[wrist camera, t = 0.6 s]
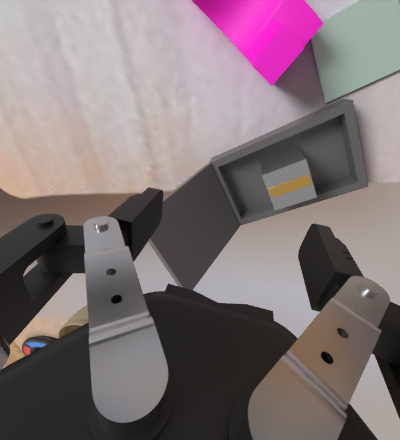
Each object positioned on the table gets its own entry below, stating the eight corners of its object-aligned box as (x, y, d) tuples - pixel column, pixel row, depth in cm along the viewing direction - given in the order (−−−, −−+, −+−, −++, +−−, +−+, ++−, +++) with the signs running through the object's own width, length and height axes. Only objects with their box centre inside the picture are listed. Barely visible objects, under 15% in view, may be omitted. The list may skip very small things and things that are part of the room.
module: (295, 145, 31) (306, 159, 25) (305, 177, 33) (317, 198, 27) (260, 159, 33) (261, 176, 27) (271, 189, 34) (275, 211, 28)
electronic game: (98, 360, 78) (90, 375, 73) (72, 375, 89) (64, 389, 85) (40, 323, 72) (28, 337, 68) (21, 344, 84) (9, 357, 80)
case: (343, 99, 27) (432, 109, 14) (358, 178, 32) (438, 246, 18) (177, 173, 37) (133, 223, 23) (206, 227, 41) (183, 296, 27)
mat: (394, -20, 22) (396, -22, 22) (402, 67, 25) (404, 67, 25) (308, 30, 25) (309, 29, 25) (324, 103, 28) (325, 103, 28)
